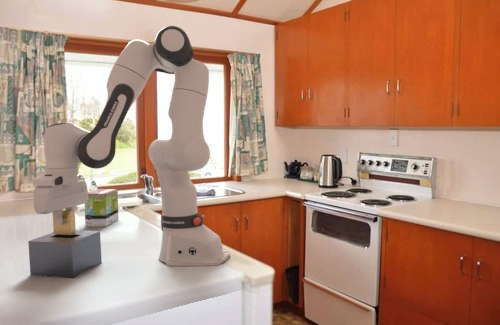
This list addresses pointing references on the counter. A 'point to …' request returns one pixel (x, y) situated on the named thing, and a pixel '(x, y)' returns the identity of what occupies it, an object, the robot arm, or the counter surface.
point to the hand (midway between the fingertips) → (64, 223)
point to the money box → (64, 254)
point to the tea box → (101, 208)
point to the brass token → (69, 224)
